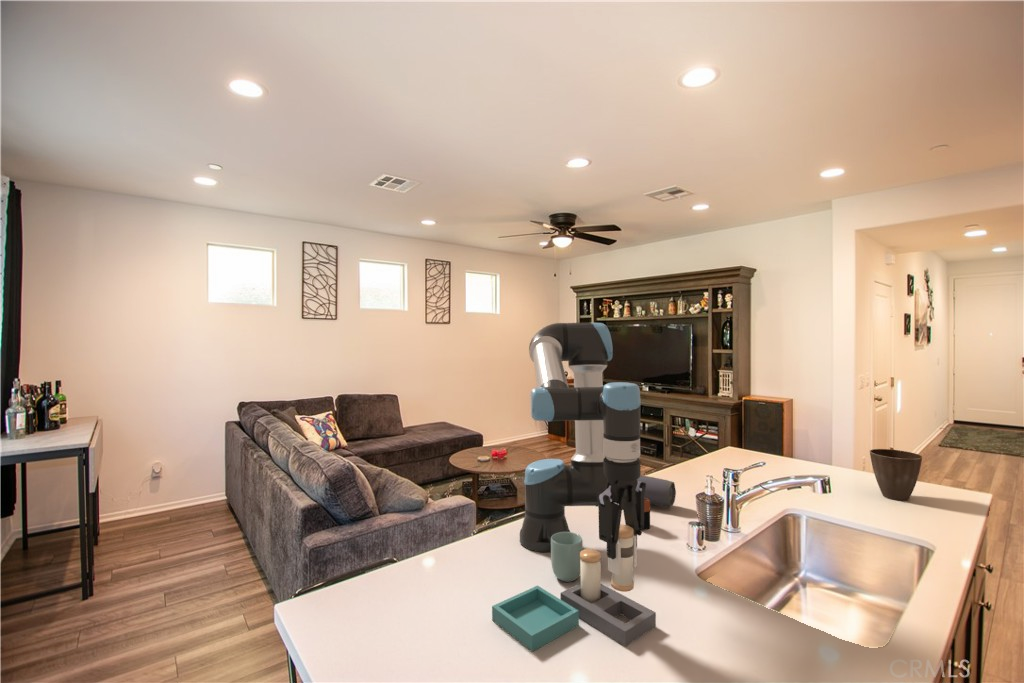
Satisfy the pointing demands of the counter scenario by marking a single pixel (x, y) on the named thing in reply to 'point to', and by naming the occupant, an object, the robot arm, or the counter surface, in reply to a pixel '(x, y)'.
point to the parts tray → (535, 617)
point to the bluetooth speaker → (658, 491)
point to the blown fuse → (625, 561)
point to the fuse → (590, 575)
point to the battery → (646, 514)
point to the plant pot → (896, 472)
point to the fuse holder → (612, 614)
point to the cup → (566, 555)
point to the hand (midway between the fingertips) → (622, 567)
